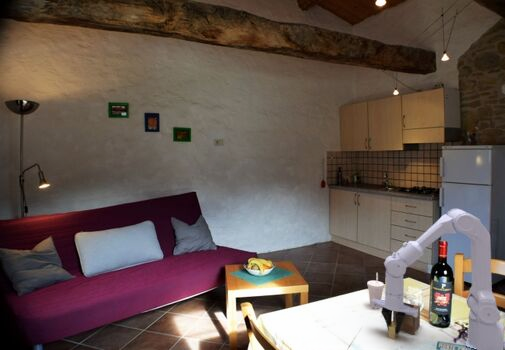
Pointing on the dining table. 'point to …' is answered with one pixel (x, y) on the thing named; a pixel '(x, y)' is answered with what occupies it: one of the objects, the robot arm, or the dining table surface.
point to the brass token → (392, 330)
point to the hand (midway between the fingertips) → (393, 331)
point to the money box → (409, 320)
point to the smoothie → (375, 290)
